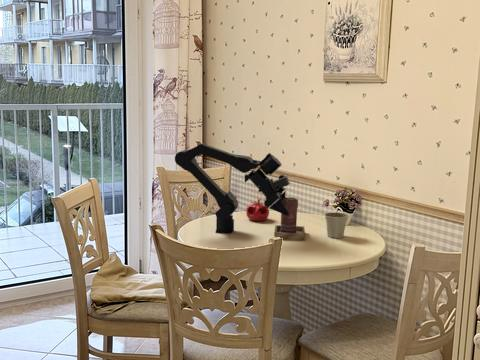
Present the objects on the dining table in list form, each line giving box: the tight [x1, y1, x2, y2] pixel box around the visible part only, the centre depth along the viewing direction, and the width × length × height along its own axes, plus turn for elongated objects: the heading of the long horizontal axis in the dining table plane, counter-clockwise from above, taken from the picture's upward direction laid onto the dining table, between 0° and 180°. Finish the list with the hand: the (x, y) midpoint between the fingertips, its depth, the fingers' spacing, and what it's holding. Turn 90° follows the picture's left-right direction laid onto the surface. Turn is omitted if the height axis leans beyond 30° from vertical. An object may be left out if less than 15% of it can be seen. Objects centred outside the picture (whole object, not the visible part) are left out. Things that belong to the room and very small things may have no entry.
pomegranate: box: [245, 198, 270, 222], centre depth 246 cm, size 10×10×9 cm
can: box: [280, 196, 299, 233], centre depth 220 cm, size 6×6×14 cm
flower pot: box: [323, 211, 349, 239], centre depth 221 cm, size 9×9×9 cm
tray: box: [273, 224, 306, 241], centre depth 222 cm, size 12×12×2 cm
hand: (289, 212), depth 220 cm, fingers open, 9 cm apart
